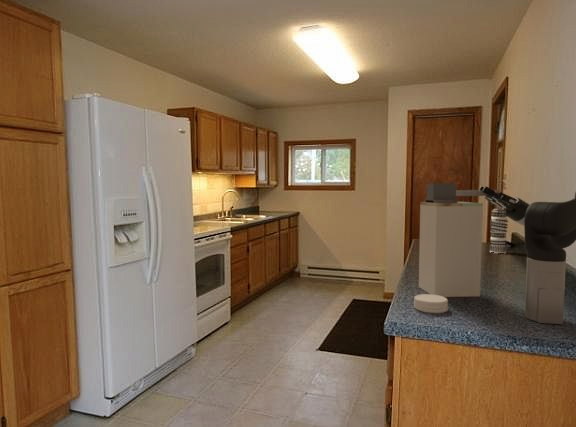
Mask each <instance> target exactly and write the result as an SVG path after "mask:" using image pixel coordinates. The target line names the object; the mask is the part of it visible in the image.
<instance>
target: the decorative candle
mask: <svg viewBox="0 0 576 427" xmlns="http://www.w3.org/2000/svg"><path fill="white" fill-rule="evenodd" d="M489 222H490V223H489V225H490V227H489V231H490V240H489V241H490V242H489V252H490V253H491V252H494V253H493V254H498V253H504V254H507V245H508V244H507V242H508V241H507V232H508V230H507V229H508V227H507V226H508V225H509V224H508V223H509V220H508V217H507V216H505V215H504V208H493V209H492V210H491V219H490V221H489Z"/></svg>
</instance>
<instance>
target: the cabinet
mask: <svg viewBox="0 0 576 427" xmlns="http://www.w3.org/2000/svg"><path fill="white" fill-rule="evenodd" d="M483 208H484V203H483V202H473V201H472V202H470V201H469V202H468V201H458V199H456V200H434V201H431V200H426V198H424V201H420V208H419V209H420V210H419V258H418V259H419V260H418V264H419V265H418V287H419V288H420V289H421V290H422V291H424V292H426V293H427V294H434V295H439V296H443V297H445V298H450V297H451V298H453V297H454V298H455V297H462V298H463V297H480V296H481V279H482V278H481V276H482V274H481V273H482V270H481V269H482V248H483V247H482V244H483V242H482V240H483V237H482V236H483V211H484V210H483Z"/></svg>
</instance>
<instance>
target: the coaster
mask: <svg viewBox="0 0 576 427" xmlns="http://www.w3.org/2000/svg"><path fill="white" fill-rule="evenodd" d="M413 300H414V301H413V303H414V304H413V308H414V309H416V310H417V311H420V312H424V313H430V314H442V313H446V312H448V310H449V300H448V298H447V297H443V296H439V295H434V294H429V293H422V294H421V293H420V294H419V293H418V294H416V295H415V296H414V298H413Z"/></svg>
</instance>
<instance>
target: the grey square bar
mask: <svg viewBox="0 0 576 427" xmlns="http://www.w3.org/2000/svg"><path fill="white" fill-rule="evenodd" d="M425 186H426V188H425V189H426V191H425V193H426V195H425V196H426V197H425V199H426V200H431V201H434V200H457V197H485V196H489V195H487V194H485V193H484V192H482V190H479V189H465V190H464V189H463V190H462V189H459V190H458V189H457V183H456V182H455V183H453V182H452V183H451V182H446V183H445V182H443V183H442V182H440V183H439V182H438V183H437V182H435V183H432V182H431V183H426V185H425ZM492 190H493V191H497V192H500V191H499V190H498V189H492Z"/></svg>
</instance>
